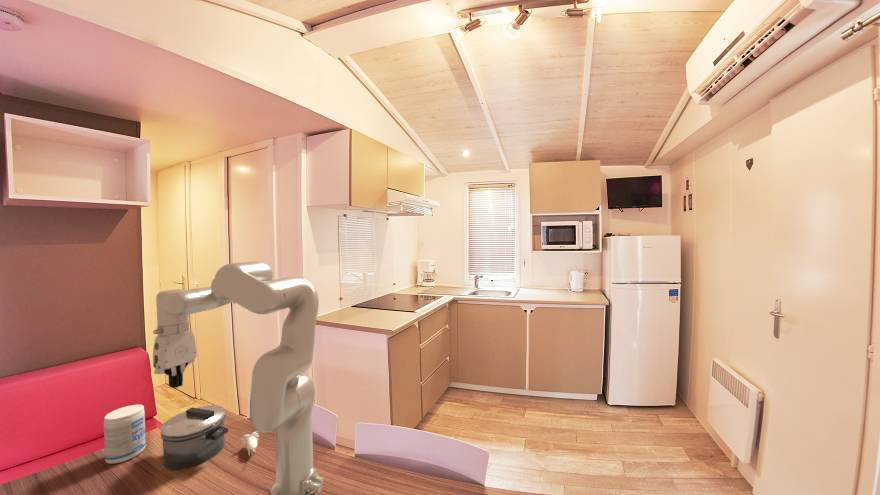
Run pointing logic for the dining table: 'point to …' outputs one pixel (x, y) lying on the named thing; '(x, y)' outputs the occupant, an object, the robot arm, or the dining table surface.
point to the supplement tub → (124, 433)
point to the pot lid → (192, 421)
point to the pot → (193, 447)
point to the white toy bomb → (251, 442)
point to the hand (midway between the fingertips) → (176, 386)
